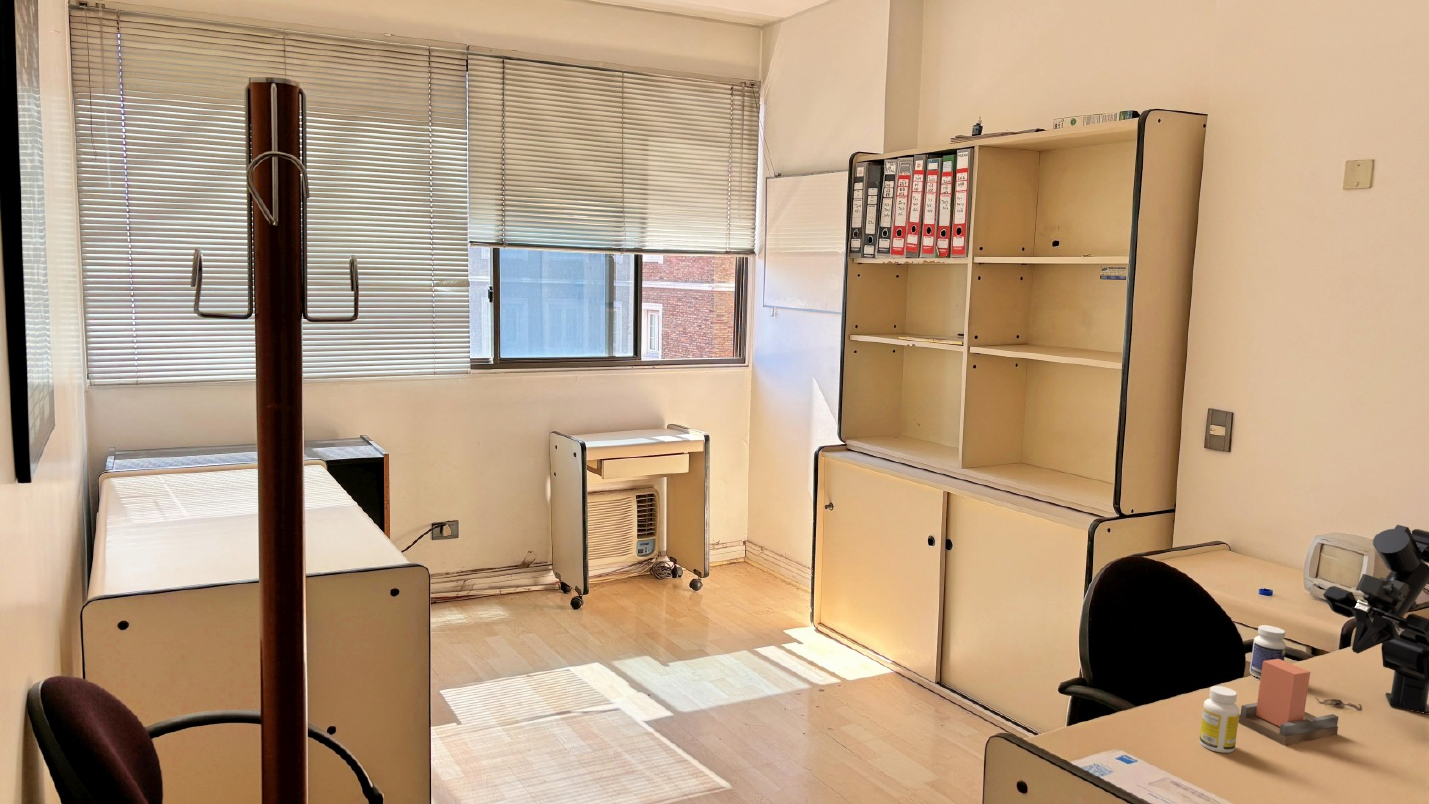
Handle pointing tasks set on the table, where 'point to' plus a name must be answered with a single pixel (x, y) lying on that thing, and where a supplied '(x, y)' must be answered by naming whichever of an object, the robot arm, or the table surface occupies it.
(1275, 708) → the pink upright rectangular block
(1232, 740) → the supplement bottle
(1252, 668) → the pill bottle
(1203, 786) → the table surface
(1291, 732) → the rail housing
